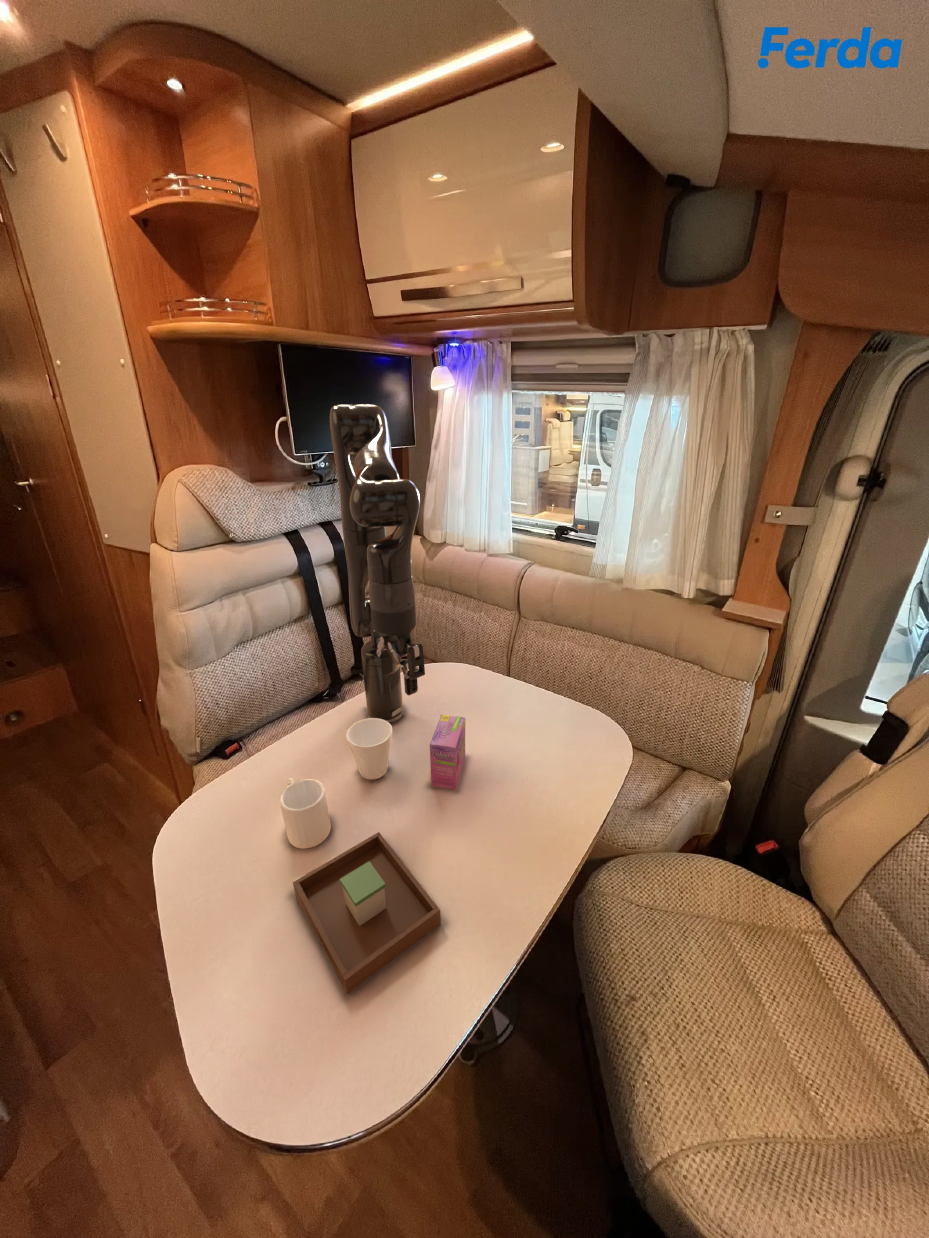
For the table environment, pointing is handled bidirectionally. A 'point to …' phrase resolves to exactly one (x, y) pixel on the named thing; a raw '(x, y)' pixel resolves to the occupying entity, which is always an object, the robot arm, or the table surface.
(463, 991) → the table surface
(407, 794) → the table surface
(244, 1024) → the table surface
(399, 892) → the tray
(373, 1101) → the table surface
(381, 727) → the cup
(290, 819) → the mug
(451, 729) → the box
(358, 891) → the container
